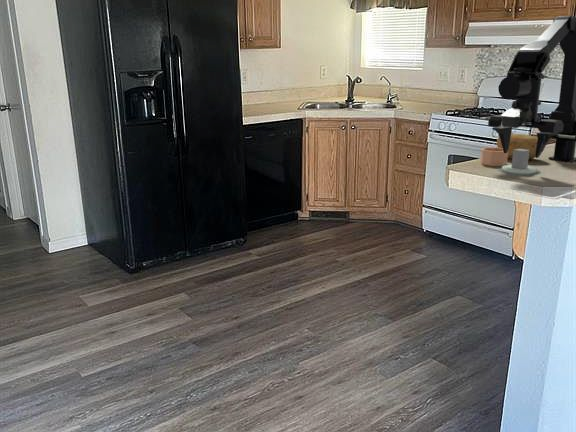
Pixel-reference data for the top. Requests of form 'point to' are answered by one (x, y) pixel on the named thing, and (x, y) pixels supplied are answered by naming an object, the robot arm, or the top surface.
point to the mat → (519, 174)
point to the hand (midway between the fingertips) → (521, 155)
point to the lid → (520, 163)
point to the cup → (493, 156)
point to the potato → (521, 144)
